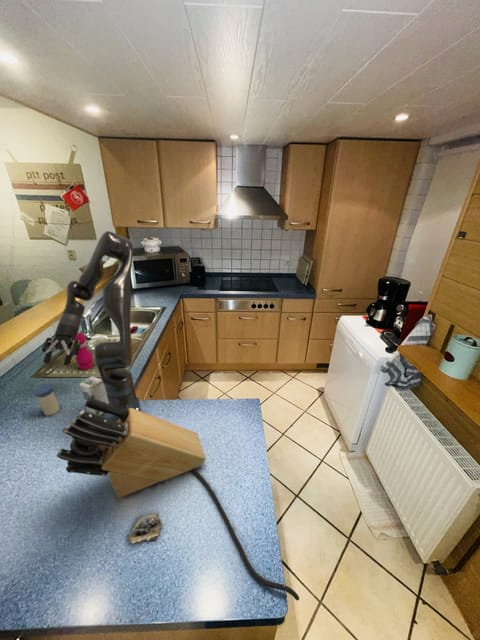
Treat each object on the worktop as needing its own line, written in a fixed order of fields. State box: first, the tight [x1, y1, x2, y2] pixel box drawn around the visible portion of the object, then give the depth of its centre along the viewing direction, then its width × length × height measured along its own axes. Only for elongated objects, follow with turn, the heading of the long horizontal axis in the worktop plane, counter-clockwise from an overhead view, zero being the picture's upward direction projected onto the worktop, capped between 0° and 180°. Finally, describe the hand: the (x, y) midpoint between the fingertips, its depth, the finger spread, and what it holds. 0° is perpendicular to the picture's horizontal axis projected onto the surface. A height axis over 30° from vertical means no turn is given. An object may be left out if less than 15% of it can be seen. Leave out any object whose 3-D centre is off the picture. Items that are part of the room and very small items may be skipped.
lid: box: [33, 383, 55, 398], centre depth 95 cm, size 6×6×2 cm
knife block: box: [56, 398, 207, 499], centre depth 71 cm, size 11×35×31 cm, turn 113°
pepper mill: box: [74, 331, 95, 370], centre depth 122 cm, size 7×7×20 cm
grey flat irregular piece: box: [128, 512, 163, 545], centre depth 63 cm, size 7×8×2 cm
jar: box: [36, 390, 61, 416], centre depth 97 cm, size 5×5×11 cm
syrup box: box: [79, 375, 109, 416], centre depth 97 cm, size 6×6×14 cm
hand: (55, 364), depth 100 cm, fingers open, 8 cm apart
